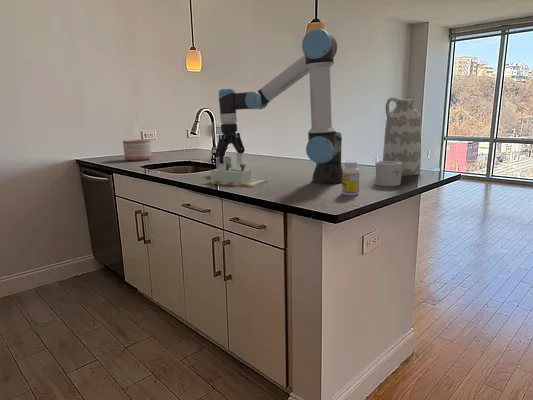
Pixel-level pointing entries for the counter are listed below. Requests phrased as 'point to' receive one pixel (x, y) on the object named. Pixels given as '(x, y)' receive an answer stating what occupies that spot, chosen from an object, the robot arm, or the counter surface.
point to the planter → (137, 149)
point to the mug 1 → (227, 160)
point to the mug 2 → (388, 173)
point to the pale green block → (231, 175)
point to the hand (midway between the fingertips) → (231, 168)
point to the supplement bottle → (350, 178)
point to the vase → (403, 136)
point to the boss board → (248, 184)
